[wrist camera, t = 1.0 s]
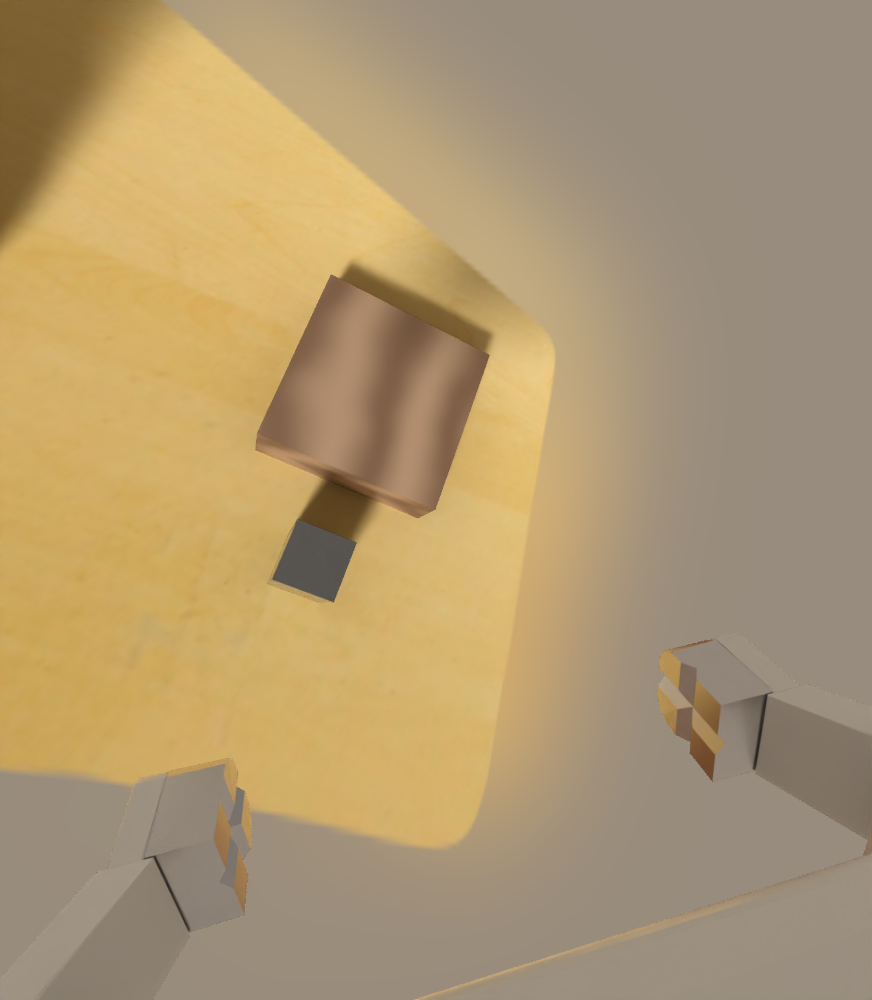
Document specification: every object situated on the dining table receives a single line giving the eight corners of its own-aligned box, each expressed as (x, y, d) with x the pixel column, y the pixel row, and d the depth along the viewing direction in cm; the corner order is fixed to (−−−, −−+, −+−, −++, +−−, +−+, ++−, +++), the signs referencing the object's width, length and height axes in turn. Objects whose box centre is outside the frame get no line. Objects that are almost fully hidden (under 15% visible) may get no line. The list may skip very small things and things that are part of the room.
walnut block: (255, 451, 45) (257, 433, 40) (322, 306, 49) (331, 274, 44) (416, 518, 48) (435, 509, 44) (467, 377, 52) (489, 355, 48)
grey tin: (266, 584, 43) (272, 579, 36) (287, 533, 44) (297, 519, 37) (317, 603, 44) (333, 602, 37) (337, 553, 45) (356, 542, 38)
